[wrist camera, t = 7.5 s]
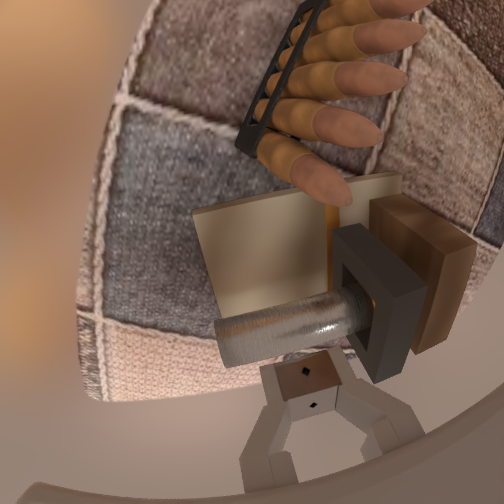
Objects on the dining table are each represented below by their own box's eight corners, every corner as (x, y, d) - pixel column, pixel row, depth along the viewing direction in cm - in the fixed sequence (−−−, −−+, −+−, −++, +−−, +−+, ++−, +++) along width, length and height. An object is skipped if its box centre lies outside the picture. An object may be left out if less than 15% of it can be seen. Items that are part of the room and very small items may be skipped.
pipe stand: (394, 170, 20) (482, 219, 12) (385, 285, 25) (440, 352, 17) (192, 209, 18) (194, 297, 11) (227, 330, 24) (245, 424, 16)
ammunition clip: (260, 156, 18) (358, 246, 7) (233, 145, 17) (299, 224, 7) (326, 17, 13) (468, -33, 3) (300, 3, 13) (428, -71, 2)
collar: (359, 222, 18) (428, 285, 12) (355, 305, 21) (401, 372, 15) (331, 229, 17) (394, 298, 11) (332, 312, 21) (373, 384, 15)
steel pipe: (415, 251, 17) (443, 276, 15) (408, 287, 19) (433, 313, 16) (211, 306, 16) (216, 346, 13) (223, 342, 18) (230, 381, 15)
